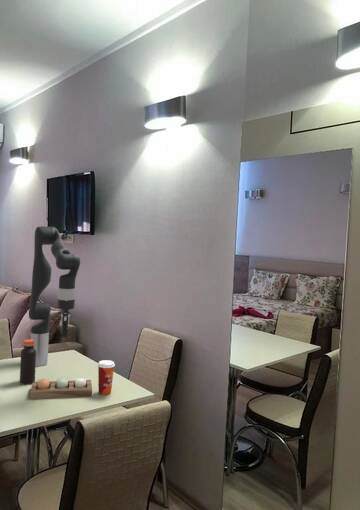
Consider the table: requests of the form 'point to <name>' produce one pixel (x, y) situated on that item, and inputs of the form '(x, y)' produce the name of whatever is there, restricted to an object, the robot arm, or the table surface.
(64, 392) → the button board
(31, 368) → the bottle
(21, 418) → the table surface
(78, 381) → the cream button
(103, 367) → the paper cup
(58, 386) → the sage button
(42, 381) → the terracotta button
